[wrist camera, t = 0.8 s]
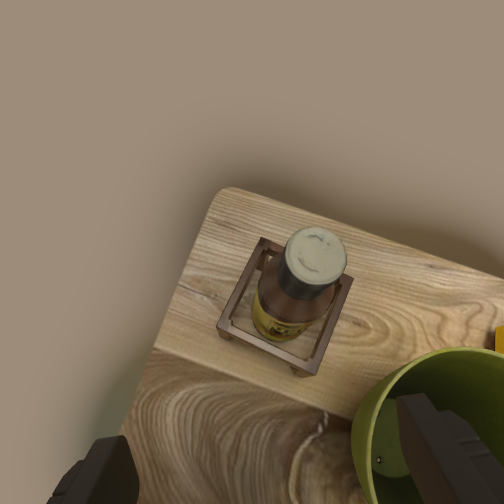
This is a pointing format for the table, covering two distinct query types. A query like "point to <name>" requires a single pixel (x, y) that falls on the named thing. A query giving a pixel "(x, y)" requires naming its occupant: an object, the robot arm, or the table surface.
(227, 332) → the open square stand
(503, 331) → the toy car
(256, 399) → the table surface
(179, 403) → the table surface
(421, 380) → the flower pot
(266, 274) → the sauce bottle
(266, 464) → the table surface
